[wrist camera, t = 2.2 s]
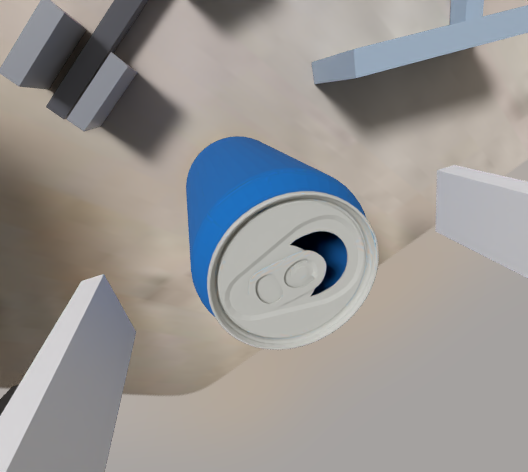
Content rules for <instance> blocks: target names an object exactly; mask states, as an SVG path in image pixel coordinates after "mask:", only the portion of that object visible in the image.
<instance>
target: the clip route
mask: <svg viewBox="0 0 528 472" xmlns="http://www.w3.org/2000/svg"><path fill="white" fill-rule="evenodd" d="M147 1H148V0H114V2H113V3H112V5H111V6H110V8H109V9H108V11H107V12H106V14H105V16H104V17H103V19H102V20H101V22H100V23H99V25H98V26H97V28H96V30H95V31H94V33H93V34H92V36H91V37H90V39H89V40H88V42H87V44H86V45H85V47H84V48H83V50H82V51H81V53H80V54H79V56H78V58H77V59H76V61H75V62H74V64H73V65H72V67H71V68H70V70H69V72H68V73H67V75H66V76H65V78H64V79H63V81H62V82H61V84H60V86H59V87H58V89H57V90H56V92H55V93H54V95H53V96H52V98H51V100H50V101H49V103H48V104H47V106H46V107H47V108H48V109H50V110H51V111H53V112H54V113H56V114H57V115H58V116H60V117H61V118H63V119H67V120H68V121H70V122H71V123H73V124H74V125H75V126H77V127H78V128H80V129H81V130H83V131H87V130H90V129H94V128H97V127H100V126H101V125H102V123H103V122H104V121H105V119H106V118H107V116H108V115H109V113H110V112H111V110H112V109H113V107H114V106H115V104H116V103H117V102H118V100H119V99H120V97H121V96H122V94H123V93H124V91H125V90H126V88H127V87H128V85H129V84H130V83H131V81H132V80H133V78H134V77H135V75H136V74H137V72H136V71H135V70H134V69H133V68H131V67H130V66H129V65H128V64H127V63H125V62H124V61H123V60H122V59H120V58H119V57H118V56H116V55H115V54H113V53H114V51H115V50H116V48H117V46H118V45H119V43H120V42H121V40H122V39H123V37H124V36H125V34H126V33H127V31H128V30H129V28H130V27H131V25H132V24H133V22H134V21H135V19H136V18H137V16H138V15H139V13H140V12H141V10H142V9H143V7H144V6H145V4H146V3H147ZM85 31H86V29H85V28H84V27H83V26H81V25H80V24H79V23H78V22H77V21H76V20H74V19H73V18H72V17H71V16H69V15H68V14H67V13H66V12H64V11H63V10H62V9H61V8H59V7H58V6H57V5H55V4H54V3H53V2H52V1H50V0H41V1H40V3H39V4H38V6H37V8H36V9H35V11H34V13H33V14H32V16H31V18H30V19H29V21H28V23H27V24H26V26H25V28H24V29H23V31H22V33H21V34H20V36H19V38H18V39H17V41H16V43H15V44H14V46H13V48H12V49H11V51H10V53H9V54H8V56H7V58H6V59H5V61H4V63H3V64H2V66H1V68H0V74H2V75H3V76H5V77H6V78H7V79H9V80H10V81H12V82H13V83H15V84H16V85H18V86H20V87H30V88H39V89H49V88H50V86H51V84H52V83H53V81H54V80H55V78H56V77H57V75H58V73H59V72H60V70H61V69H62V67H63V66H64V64H65V62H66V61H67V59H68V58H69V56H70V55H71V53H72V51H73V50H74V48H75V47H76V45H77V44H78V42H79V40H80V39H81V37H82V36H83V34H84V33H85Z"/></svg>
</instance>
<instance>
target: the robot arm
mask: <svg viewBox="0 0 528 472" xmlns="http://www.w3.org/2000/svg"><path fill="white" fill-rule="evenodd" d="M436 232H438V233H440V234H442V235H444V236H446V237H448V238H450V239H452V240H453V241H456V242H457V243H460V244H461V245H463V246H465V247H467V248H469V249H471V250H473V251H475V252H477V253H479V254H481V255H483V256H485V257H487V258H489V259H491V260H493V261H495V262H497V263H499V264H501V265H503V266H505V267H506V268H508V269H511V270H512V271H514V272H516V273H518V274H520V275H522V276H524V277H526V278H528V182H527V181H523V180H519V179H514V178H510V177H505V176H501V175H496V174H492V173H487V172H483V171H479V170H474V169H470V168H465V167H461V166H456V165H452V166H449V167H446V168H443V169H440V170H437V195H436ZM135 335H136V331H135V329H134V327H133V326H132V324H131V322H130V320H129V318H128V317H127V315H126V313H125V311H124V309H123V308H122V306H121V304H120V302H119V300H118V299H117V297H116V295H115V293H114V291H113V290H112V288H111V286H110V284H109V282H108V281H107V279H106V277H105V275H104V274H102V275H99V276H96V277H93V278H89V279H86V280H83V281H81V283H80V284H79V286H78V288H77V289H76V291H75V293H74V294H73V296H72V298H71V299H70V301H69V303H68V304H67V306H66V308H65V309H64V311H63V313H62V314H61V316H60V318H59V319H58V321H57V323H56V324H55V326H54V328H53V329H52V331H51V333H50V334H49V336H48V338H47V339H46V341H45V343H44V344H43V346H42V348H41V349H40V351H39V352H38V354H37V356H36V357H35V359H34V361H33V362H32V364H31V366H30V367H29V369H28V371H27V372H26V374H25V376H24V377H23V379H22V381H21V382H20V384H19V385H16V386H13V387H12V388H11V389H10V390H9V391H8V392H7V393H6V394H5V395H4V396H3V397H2V398H1V399H0V472H105V468H106V463H107V458H108V454H109V449H110V445H111V441H112V437H113V432H114V428H115V423H116V419H117V414H118V410H119V406H120V401H121V397H122V392H123V388H124V384H125V379H126V375H127V370H128V366H129V362H130V357H131V353H132V348H133V344H134V339H135Z"/></svg>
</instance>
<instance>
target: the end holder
mask: <svg viewBox="0 0 528 472" xmlns="http://www.w3.org/2000/svg"><path fill="white" fill-rule="evenodd" d="M483 4H484V0H451V12H450V25H448V26H444V27H440V28H436V29H432V30H428V31H424V32H420V33H416V34H412V35H408V36H404V37H400V38H396V39H392V40H388V41H384V42H380V43H376V44H372V45H368V46H364V47H361V48H357V49H353V50H350V51H346V52H343V53H340V54H337V55H334V56H330V57H327V58H324V59H321V60H318V61H314V62H312V69H313V76H314V84H319V83H326V82H333V81H340V80H347V79H354V78H358V77H362V76H366V75H370V74H374V73H377V72H381V71H385V70H389V69H392V68H396V67H400V66H404V65H407V64H411V63H415V62H419V61H422V60H426V59H430V58H434V57H437V56H441V55H445V54H449V53H453V52H456V51H460V50H464V49H468V48H471V47H475V46H479V45H483V44H486V43H490V42H494V41H498V40H501V39H505V38H509V37H513V36H516V35H520V34H524V33H528V5H527V6H523V7H519V8H515V9H511V10H507V11H503V12H499V13H495V14H491V15H487V16H483Z"/></svg>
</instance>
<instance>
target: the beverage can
mask: <svg viewBox="0 0 528 472" xmlns="http://www.w3.org/2000/svg"><path fill="white" fill-rule="evenodd" d="M186 193H187V210H188V226H189V243H190V260H191V272H192V278H193V283H194V286H195V288H196V291H197V293H198V295H199V297H200V299H201V301H202V303H203V304H204V305H205V307H206V308H207V309H208V311H209V312H210V313H211V314H212V315H213V316H214V317H215V318H216V319H217V321H218V322H219V323H220V325H221V326H222V327H223V328H224V329H225V330H226V331H227V332H228V333H229V334H230V335H232V336H233V337H234V338H236V339H237V340H239V341H241V342H243V343H245V344H248V345H251V346H254V347H258V348H262V349H272V350H277V349H278V350H279V349H291V348H296V347H301V346H304V345H307V344H310V343H313V342H315V341H317V340H320V339H322V338H324V337H326V336H327V335H329V334H331V333H333V332H334V331H335V330H337V329H338V328H340V327H341V326H342V325H343V324H345V323H346V322H347V321H348V320H349V319H350V318H351V317H352V316H353V315H354V314H355V313H356V312H357V310H358V309H359V308H360V307H361V305H362V304H363V302H364V301H365V299H366V298H367V296H368V294H369V292H370V290H371V288H372V285H373V283H374V280H375V277H376V273H377V269H378V261H379V253H378V244H377V239H376V236H375V233H374V231H373V229H372V227H371V225H370V223H369V222H368V220H367V219H366V216H365V213H364V211H363V209H362V207H361V205H360V203H359V202H358V201H357V199H356V198H355V196H354V195H353V194H352V193H351V192H350V191H349V190H348V189H347V187H346V186H344V185H343V184H342V183H340V182H339V181H338V180H336V179H334V178H333V177H331V176H329V175H327V174H325V173H323V172H321V171H319V170H317V169H315V168H312V167H310V166H308V165H306V164H304V163H302V162H300V161H298V160H296V159H294V158H292V157H290V156H288V155H286V154H284V153H282V152H280V151H278V150H276V149H274V148H272V147H270V146H268V145H266V144H264V143H261V142H259V141H257V140H255V139H252V138H247V137H228V138H224V139H221V140H218V141H216V142H214V143H212V144H210V145H209V146H208V147H206V148H205V149H204V150H203V151H202V152H201V153H200V154H199V155H198V156H197V157H196V159H195V160H194V162H193V164H192V165H191V168H190V170H189V173H188V177H187V184H186Z"/></svg>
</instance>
